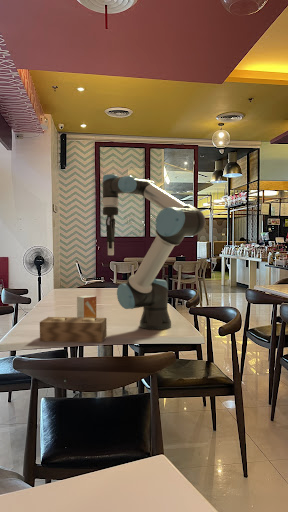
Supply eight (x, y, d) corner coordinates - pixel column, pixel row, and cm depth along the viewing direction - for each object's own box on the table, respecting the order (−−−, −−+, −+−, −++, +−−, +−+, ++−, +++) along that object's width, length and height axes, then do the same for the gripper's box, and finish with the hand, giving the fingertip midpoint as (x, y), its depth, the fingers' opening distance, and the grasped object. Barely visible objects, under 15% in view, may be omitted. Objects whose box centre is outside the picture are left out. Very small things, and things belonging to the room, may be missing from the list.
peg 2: (96, 336, 174) (95, 318, 173) (93, 339, 169) (93, 320, 168) (84, 336, 174) (84, 317, 174) (81, 339, 169) (81, 320, 169)
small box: (84, 323, 203) (83, 297, 202) (76, 321, 207) (76, 296, 207) (96, 321, 208) (96, 296, 208) (89, 319, 213) (89, 294, 212)
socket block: (106, 336, 176) (106, 317, 176) (101, 342, 165) (101, 323, 165) (48, 334, 179) (48, 316, 178) (39, 341, 168) (39, 322, 168)
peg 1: (66, 335, 175) (66, 317, 175) (63, 338, 170) (62, 319, 170) (55, 335, 175) (55, 317, 175) (51, 338, 170) (51, 319, 170)
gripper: (105, 208, 204) (105, 254, 205) (100, 205, 191) (100, 255, 192) (120, 207, 203) (120, 254, 204) (115, 205, 190) (116, 255, 191)
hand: (110, 255), depth 198 cm, fingers closed
